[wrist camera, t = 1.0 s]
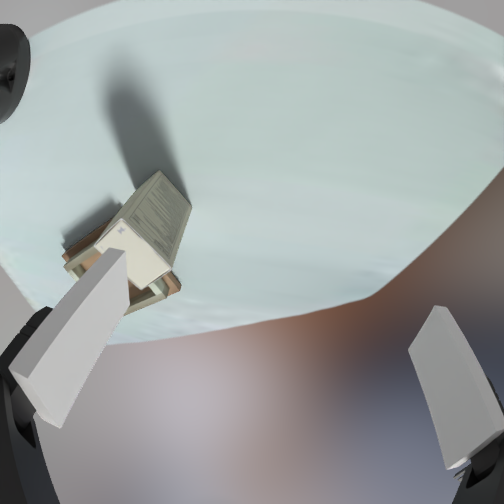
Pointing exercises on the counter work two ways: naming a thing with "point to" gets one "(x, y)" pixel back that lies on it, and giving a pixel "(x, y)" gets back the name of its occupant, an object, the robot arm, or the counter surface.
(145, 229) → the skincare box
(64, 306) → the robot arm
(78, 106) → the counter surface
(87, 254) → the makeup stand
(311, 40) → the counter surface
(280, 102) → the counter surface
